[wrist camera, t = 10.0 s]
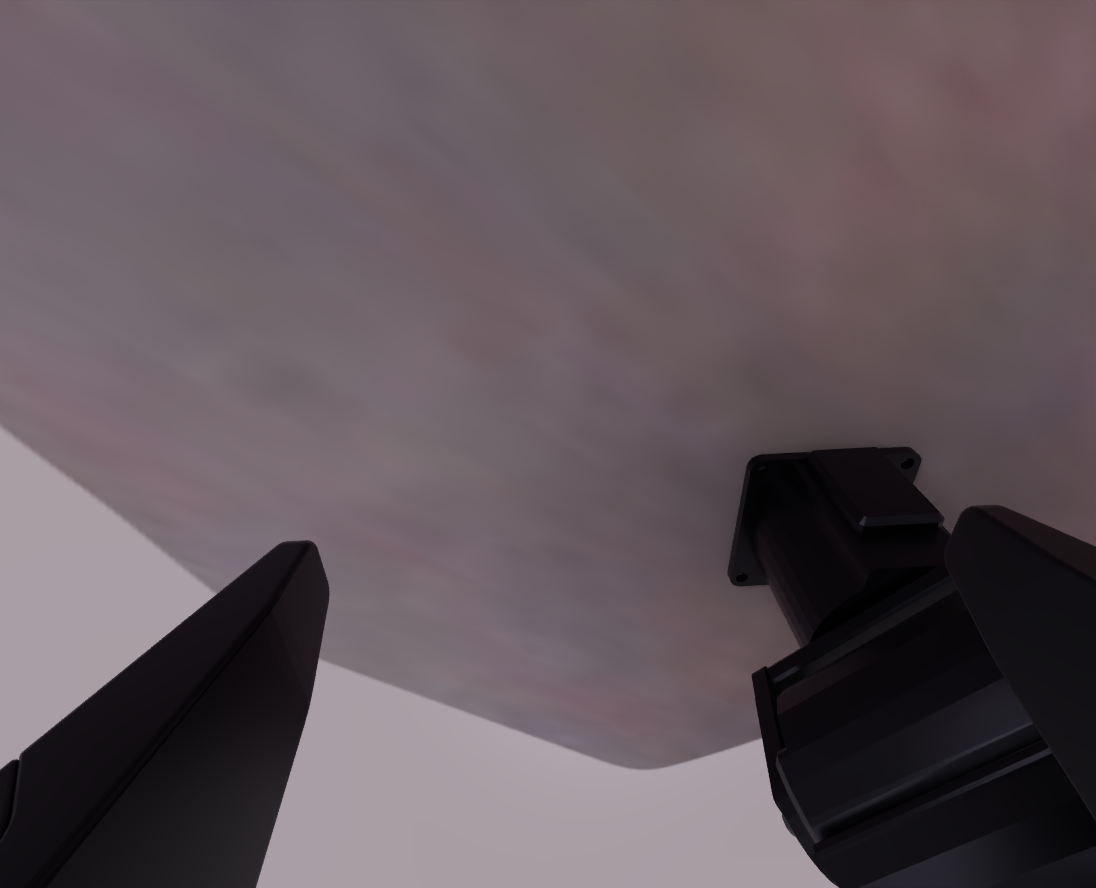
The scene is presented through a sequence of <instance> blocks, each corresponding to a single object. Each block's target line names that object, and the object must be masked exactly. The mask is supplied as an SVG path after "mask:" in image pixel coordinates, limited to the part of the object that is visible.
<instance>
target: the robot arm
mask: <svg viewBox="0 0 1096 888" xmlns="http://www.w3.org/2000/svg"><path fill="white" fill-rule="evenodd" d="M905 459H907V460H906V461H905V462H904V463H902V462H903V461H904V460H905ZM920 464H921V457H920V455H919V454H918V453H917V452H916V451H914V450H913V449H912V448H910V447H895V448H876V447H869V448H851V449H832V450H814V451H811V452H801V453H782V454H763V455H758V456H755V457H753V458H752V459H751V460H750V461H749V462H748V464H747V468H746V473H745V479H744V484H743V490H742V495H741V501H740V506H739V512H738V517H737V523H736V528H735V534H734V539H733V545H732V550H731V556H730V561H729V567H728V576H729V579H730V581H731V583H732V584H733V585H735V586H753V585H769V586H770V588H771V590H772V592H773V594H774V596H775V598H776V600H777V602H778V604H779V606H780V608H781V610H782V612H783V614H784V616H785V618H786V620H787V622H788V624H789V626H790V628H791V630H792V632H793V634H794V636H795V638H796V640H797V642H798V644H799V646H800V649H798V650H797V651H795V652H793V653H792V654H790V655H788V656H787V657H785V658H783V659H782V660H780V661H778V662H777V663H775V664H773V665H772V666H770V667H768V668H767V667H766V666H765V667H763V668H761V669H760V670H758V671H756V672H755V673H753V674H752V681H753V687H754V692H755V701H756V707H757V712H758V718H759V723H760V729H761V734H762V740H763V745H764V751H765V757H766V762H767V768H768V773H769V779H770V784H771V789H772V795H773V799H774V801H775V803H776V805H777V807H778V808H779V810H780V811H781V812H782V818H783V821H784V823H785V825H786V827H787V829H788V830H789V831H790V833H791V834H792V835H793V836H795V837H796V838H797V839H798V841H799V842H800V844H801V845H802V847H803V848H804V850H805V851H806V853H807V855H808V856H809V857H810V858H811V860H812V861H813V862H814V864H815V865H816V866H817V867H818V869H819V870H820V871H821V872H822V873H823V874H824V875H825V876H826V877H827V878H828V879H829V880H830V881H831V882H832V883H833V884H835V885H836V886H838V887H839V888H1096V547H1095V546H1093V545H1091V544H1088V543H1086V542H1084V541H1082V540H1079V539H1077V538H1075V537H1072V536H1070V535H1068V534H1065V533H1063V532H1061V531H1059V530H1056V529H1054V528H1052V527H1049V526H1047V525H1045V524H1042V523H1040V522H1038V521H1036V520H1033V519H1031V518H1029V517H1026V516H1024V515H1022V514H1020V513H1017V512H1015V511H1013V510H1010V509H1008V508H1006V507H1003V506H999V505H982V506H971V507H968V508H966V509H965V510H964V511H963V512H962V513H961V515H960V516H959V519H958V521H957V523H956V525H955V528H954V530H953V532H952V534H950V533H949V532H948V531H947V530H946V529H945V528H944V527H943V526H942V524H943V522H944V517H943V515H942V514H941V513H940V512H939V511H938V510H937V509H936V508H935V507H934V506H933V505H932V504H931V502H930V501H929V500H928V499H927V498H926V497H925V496H924V495H923V494H922V493H921V492H920V491H919V490H918V489H917V488H916V487H915V486H914V485H913V482H914V480H915V477H916V474H917V472H918V469H919V466H920ZM762 466H766V467H765V468H764V469H763V470H761V471H757V470H758V469H759V468H760V467H762ZM742 573H743V574H742ZM739 574H742V575H739ZM328 603H329V584H328V580H327V577H326V574H325V571H324V568H323V564H322V561H321V558H320V555H319V551H318V548H317V546H316V545H315V543H314V542H312V541H309V540H305V541H287V542H282V543H280V544H279V545H277V546H276V547H275V548H273V549H272V550H271V551H270V552H268V553H267V554H266V555H265V556H263V557H262V558H261V559H260V560H259V561H257V562H256V563H255V564H254V565H252V566H251V567H250V568H249V569H247V570H246V571H245V572H244V573H242V574H241V575H240V576H239V577H238V578H236V579H235V580H234V581H233V582H231V583H230V584H229V585H228V586H226V587H225V588H224V589H223V590H221V591H220V592H219V593H218V594H217V595H215V596H214V597H213V598H212V599H210V600H209V601H208V602H207V603H205V604H204V605H203V606H202V607H201V608H199V609H198V610H197V611H196V612H194V613H193V614H192V615H191V616H189V617H188V618H187V619H186V620H184V621H183V622H182V623H181V624H180V625H178V626H177V627H176V628H175V629H174V630H172V631H171V632H170V633H168V634H167V635H166V636H165V637H163V638H162V639H161V640H160V641H159V642H157V643H156V644H155V645H154V646H153V647H151V648H150V649H149V650H147V651H146V652H145V653H144V654H143V655H141V656H140V657H139V658H138V659H136V660H135V661H134V662H133V663H132V664H130V665H129V666H128V667H126V668H125V669H124V670H123V671H122V672H120V673H119V674H118V675H117V676H116V677H114V678H113V679H112V680H111V681H109V682H108V683H107V684H106V685H104V686H103V687H102V688H101V689H100V690H98V691H97V692H96V693H95V694H93V695H92V696H91V697H89V698H88V699H87V700H86V701H85V702H83V703H82V704H81V705H80V706H78V707H77V708H76V709H75V710H73V711H72V712H71V713H70V714H68V716H66V717H65V718H64V719H62V720H61V721H60V722H59V723H57V724H56V725H55V726H54V727H53V728H51V729H50V730H49V731H48V732H46V733H45V734H44V735H43V736H41V737H40V738H39V739H38V740H36V741H35V742H34V743H33V744H31V745H30V746H29V747H28V748H26V750H24V751H23V752H22V753H21V754H20V757H19V760H17V759H16V760H12V761H10V762H9V763H8V764H7V765H6V766H4V767H3V768H1V769H0V888H256V885H257V882H258V879H259V875H260V872H261V869H262V865H263V862H264V858H265V855H266V852H267V849H268V845H269V842H270V839H271V835H272V832H273V829H274V825H275V822H276V819H277V815H278V812H279V808H280V805H281V802H282V798H283V795H284V792H285V788H286V785H287V782H288V778H289V775H290V772H291V768H292V765H293V762H294V758H295V755H296V751H297V748H298V745H299V742H300V738H301V735H302V731H303V728H304V725H305V721H306V717H307V714H308V710H309V706H310V701H311V697H312V691H313V687H314V681H315V676H316V670H317V664H318V659H319V653H320V648H321V642H322V637H323V631H324V625H325V620H326V614H327V609H328Z"/></svg>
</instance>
